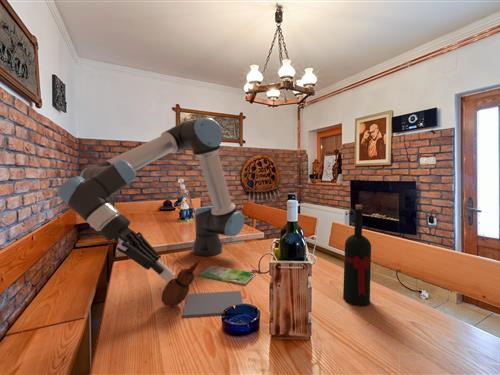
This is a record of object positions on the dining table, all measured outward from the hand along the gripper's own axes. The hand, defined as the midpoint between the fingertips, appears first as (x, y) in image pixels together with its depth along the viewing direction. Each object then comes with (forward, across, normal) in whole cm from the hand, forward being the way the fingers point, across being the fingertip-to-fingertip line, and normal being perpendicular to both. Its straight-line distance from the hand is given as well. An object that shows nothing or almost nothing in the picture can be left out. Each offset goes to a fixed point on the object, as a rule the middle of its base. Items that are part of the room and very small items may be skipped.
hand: (171, 278), depth 71 cm
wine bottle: (+46, +2, +34) cm, 57 cm away
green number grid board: (+18, -21, +5) cm, 29 cm away
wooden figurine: (+5, -1, -6) cm, 8 cm away
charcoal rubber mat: (+15, -1, +2) cm, 15 cm away
